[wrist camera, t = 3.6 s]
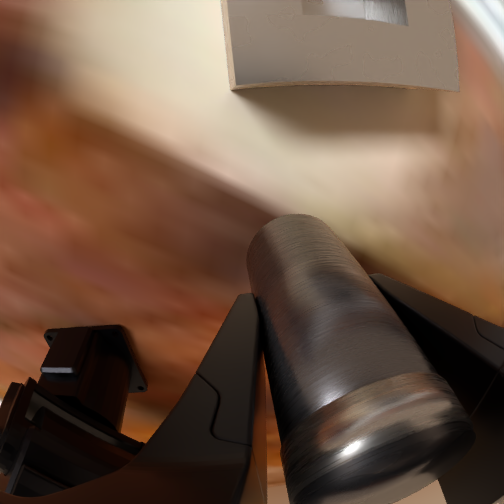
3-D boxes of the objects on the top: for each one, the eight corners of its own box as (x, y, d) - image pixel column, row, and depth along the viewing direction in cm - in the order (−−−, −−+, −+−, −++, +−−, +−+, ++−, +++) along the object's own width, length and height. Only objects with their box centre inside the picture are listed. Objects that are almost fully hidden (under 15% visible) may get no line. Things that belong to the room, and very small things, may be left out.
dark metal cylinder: (338, 291, 12) (438, 485, 5) (250, 305, 12) (291, 530, 4) (341, 207, 10) (509, 398, 3) (240, 218, 10) (292, 478, 3)
